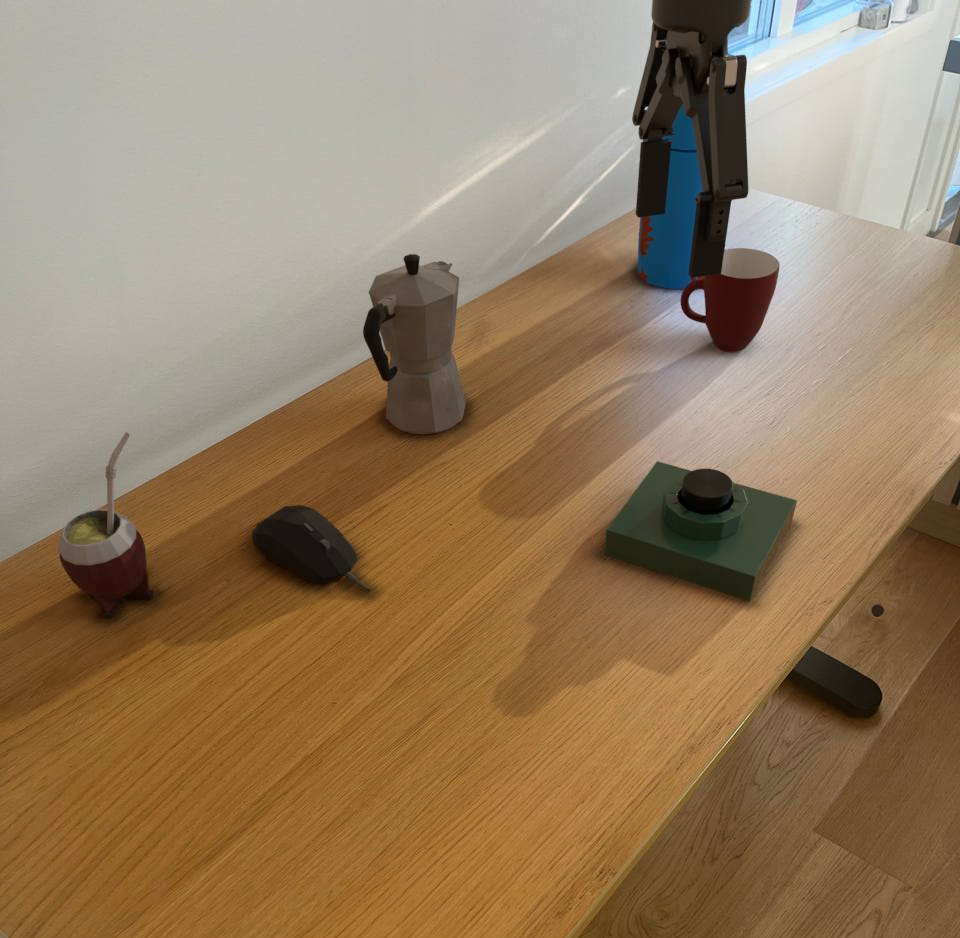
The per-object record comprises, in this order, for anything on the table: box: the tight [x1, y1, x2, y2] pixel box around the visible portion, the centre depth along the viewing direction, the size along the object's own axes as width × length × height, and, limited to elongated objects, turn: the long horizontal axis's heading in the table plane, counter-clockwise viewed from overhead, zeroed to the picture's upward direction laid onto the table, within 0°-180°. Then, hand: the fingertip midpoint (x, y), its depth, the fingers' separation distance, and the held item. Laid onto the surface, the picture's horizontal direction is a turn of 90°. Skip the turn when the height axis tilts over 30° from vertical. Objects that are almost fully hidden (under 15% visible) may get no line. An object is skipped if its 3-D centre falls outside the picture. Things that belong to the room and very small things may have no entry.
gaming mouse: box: [251, 504, 371, 593], centre depth 88 cm, size 6×15×4 cm, turn 48°
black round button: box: [680, 468, 734, 515], centre depth 85 cm, size 4×4×2 cm
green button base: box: [604, 460, 798, 602], centre depth 87 cm, size 14×12×5 cm
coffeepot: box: [362, 253, 467, 435], centre depth 99 cm, size 15×9×18 cm, turn 150°
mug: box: [679, 247, 780, 353], centre depth 111 cm, size 10×8×10 cm
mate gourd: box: [58, 431, 155, 619], centre depth 82 cm, size 8×8×15 cm
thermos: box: [637, 53, 735, 290], centre depth 119 cm, size 11×11×25 cm
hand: (675, 243), depth 87 cm, fingers open, 13 cm apart
